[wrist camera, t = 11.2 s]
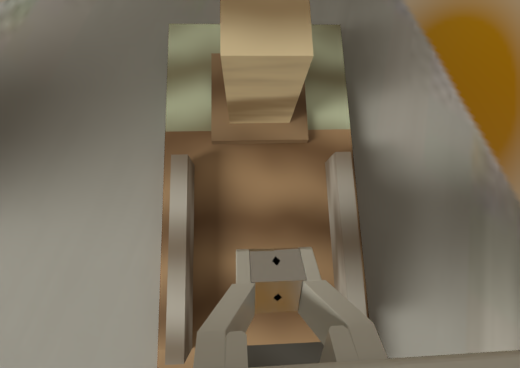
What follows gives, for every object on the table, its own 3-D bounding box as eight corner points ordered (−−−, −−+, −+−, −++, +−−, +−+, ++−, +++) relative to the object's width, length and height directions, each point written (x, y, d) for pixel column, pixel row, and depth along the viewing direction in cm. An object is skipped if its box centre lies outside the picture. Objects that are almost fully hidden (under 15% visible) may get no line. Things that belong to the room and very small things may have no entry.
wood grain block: (306, 142, 25) (343, 81, 16) (212, 144, 25) (191, 81, 15) (301, 58, 27) (331, -44, 17) (212, 59, 27) (193, -46, 17)
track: (373, 465, 23) (408, 526, 18) (160, 481, 22) (136, 548, 17) (334, 39, 30) (351, -1, 25) (174, 38, 29) (159, -3, 24)
